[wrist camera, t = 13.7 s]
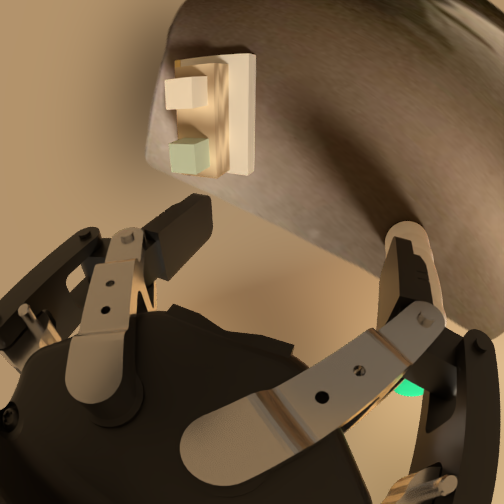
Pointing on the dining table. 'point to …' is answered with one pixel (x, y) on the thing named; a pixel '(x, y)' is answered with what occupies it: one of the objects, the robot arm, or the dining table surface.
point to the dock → (237, 107)
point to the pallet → (209, 116)
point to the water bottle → (423, 249)
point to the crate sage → (189, 155)
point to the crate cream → (186, 93)
